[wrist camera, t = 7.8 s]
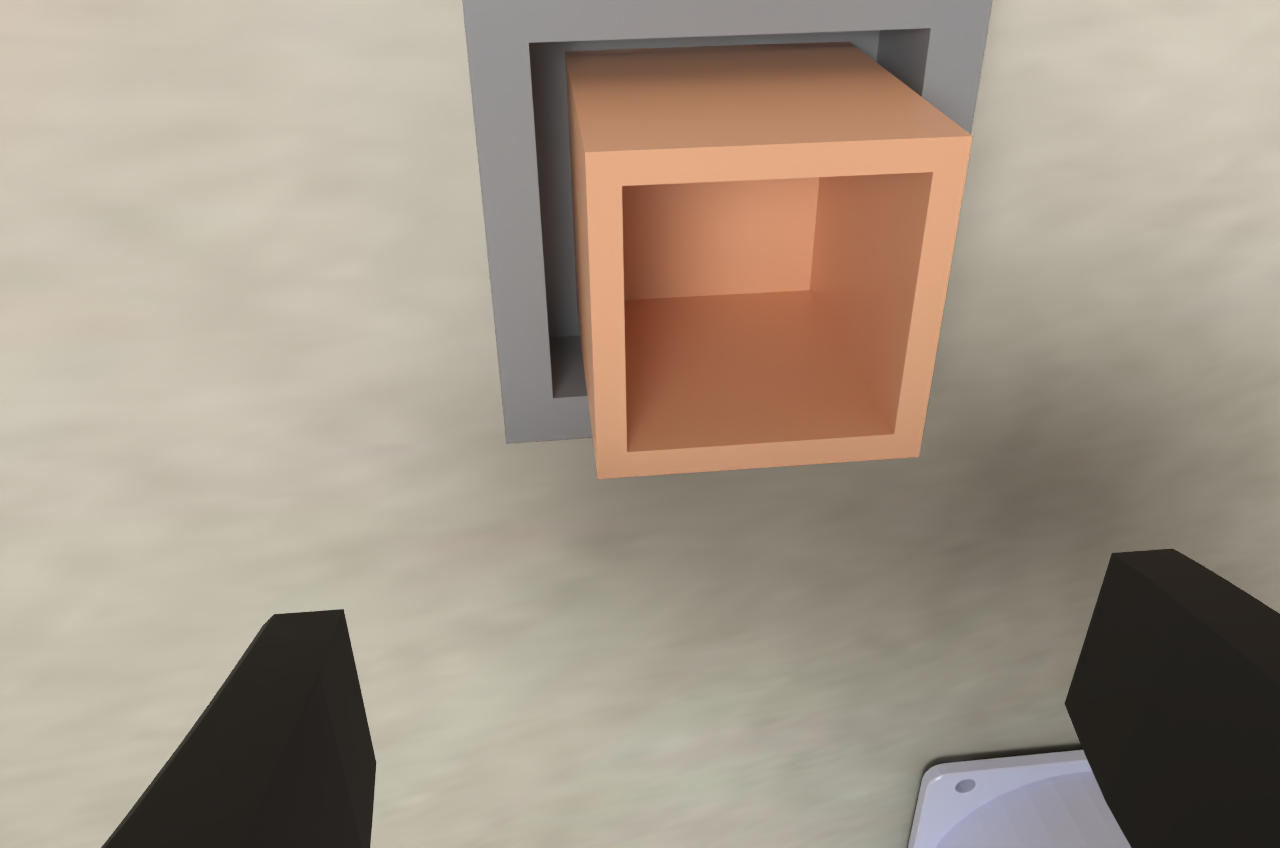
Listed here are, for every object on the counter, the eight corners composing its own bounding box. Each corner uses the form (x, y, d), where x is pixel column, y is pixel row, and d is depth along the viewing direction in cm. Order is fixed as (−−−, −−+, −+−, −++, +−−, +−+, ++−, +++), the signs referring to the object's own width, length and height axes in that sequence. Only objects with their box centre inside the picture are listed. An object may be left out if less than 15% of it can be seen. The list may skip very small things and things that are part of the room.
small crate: (849, 41, 16) (972, 136, 12) (824, 299, 18) (918, 457, 14) (564, 50, 15) (585, 152, 11) (577, 313, 18) (597, 478, 13)
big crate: (932, -63, 15) (998, -39, 13) (879, 345, 19) (925, 415, 17) (468, -50, 15) (459, -22, 13) (507, 368, 19) (506, 443, 16)
